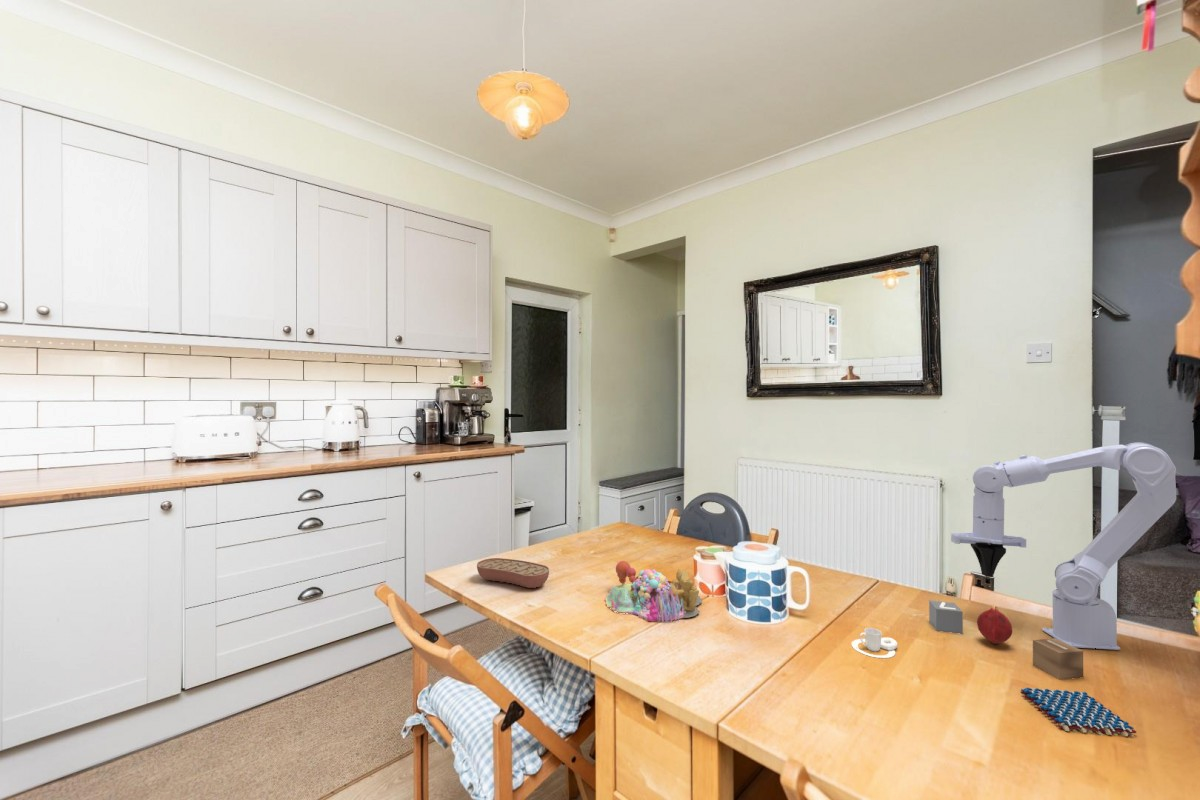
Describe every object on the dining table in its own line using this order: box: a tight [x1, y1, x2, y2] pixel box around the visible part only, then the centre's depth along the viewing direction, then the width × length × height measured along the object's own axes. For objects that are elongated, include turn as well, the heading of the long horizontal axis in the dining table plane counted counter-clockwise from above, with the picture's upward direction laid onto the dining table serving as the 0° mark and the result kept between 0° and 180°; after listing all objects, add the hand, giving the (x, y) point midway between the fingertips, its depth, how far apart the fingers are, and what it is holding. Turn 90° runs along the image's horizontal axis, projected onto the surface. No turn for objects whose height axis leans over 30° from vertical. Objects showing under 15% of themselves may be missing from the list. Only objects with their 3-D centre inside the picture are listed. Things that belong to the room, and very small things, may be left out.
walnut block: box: [1032, 637, 1084, 681], centre depth 95 cm, size 5×5×5 cm
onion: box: [976, 604, 1013, 645], centre depth 105 cm, size 6×6×8 cm
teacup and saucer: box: [851, 627, 898, 659], centre depth 104 cm, size 9×8×4 cm
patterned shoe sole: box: [476, 557, 550, 589], centre depth 143 cm, size 23×10×5 cm, turn 64°
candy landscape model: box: [604, 560, 703, 624], centre depth 128 cm, size 25×24×9 cm
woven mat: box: [1020, 686, 1137, 738], centre depth 82 cm, size 10×11×2 cm
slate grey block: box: [928, 600, 964, 635], centre depth 113 cm, size 5×5×5 cm
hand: (987, 575), depth 117 cm, fingers closed
